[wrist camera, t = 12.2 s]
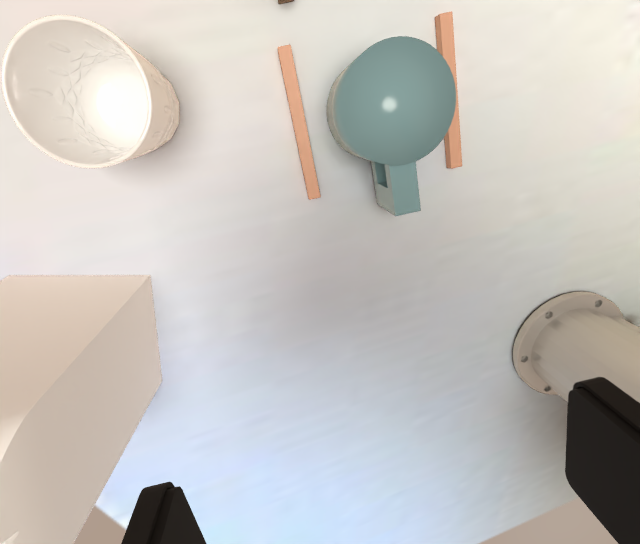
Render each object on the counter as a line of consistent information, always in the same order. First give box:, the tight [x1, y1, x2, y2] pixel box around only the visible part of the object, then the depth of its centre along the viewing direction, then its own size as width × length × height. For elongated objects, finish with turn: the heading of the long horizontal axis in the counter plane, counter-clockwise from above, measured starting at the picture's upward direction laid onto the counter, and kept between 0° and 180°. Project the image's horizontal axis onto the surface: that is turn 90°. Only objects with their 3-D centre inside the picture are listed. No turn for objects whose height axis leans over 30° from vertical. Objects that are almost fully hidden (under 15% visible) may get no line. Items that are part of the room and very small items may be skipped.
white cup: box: [1, 15, 179, 169], centre depth 26 cm, size 8×8×10 cm
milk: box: [0, 275, 162, 544], centre depth 25 cm, size 12×12×26 cm
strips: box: [278, 12, 462, 200], centre depth 33 cm, size 14×12×1 cm
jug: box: [327, 36, 456, 216], centre depth 30 cm, size 8×12×8 cm
